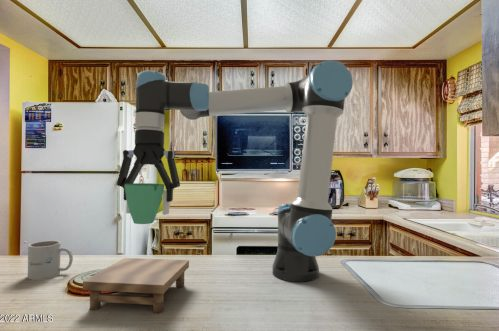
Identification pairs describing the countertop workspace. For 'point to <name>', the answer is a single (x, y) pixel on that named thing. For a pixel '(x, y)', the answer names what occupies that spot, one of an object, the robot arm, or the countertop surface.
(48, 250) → the mug
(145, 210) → the green cup
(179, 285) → the stool
